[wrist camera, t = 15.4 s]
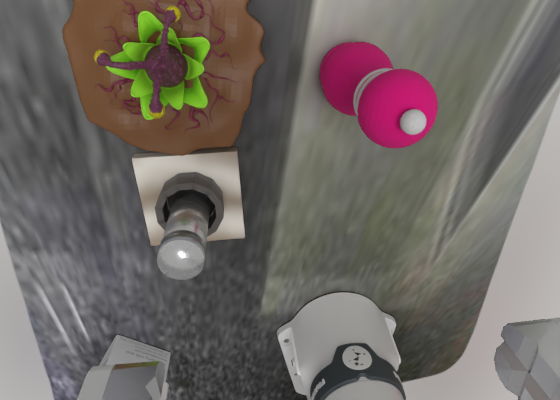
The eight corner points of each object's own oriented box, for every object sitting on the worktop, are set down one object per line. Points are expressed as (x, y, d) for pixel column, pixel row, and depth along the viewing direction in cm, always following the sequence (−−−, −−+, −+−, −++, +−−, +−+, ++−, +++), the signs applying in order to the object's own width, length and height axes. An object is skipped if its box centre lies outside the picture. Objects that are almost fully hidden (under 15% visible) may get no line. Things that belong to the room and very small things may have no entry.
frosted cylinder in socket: (209, 183, 48) (202, 239, 38) (213, 216, 50) (207, 278, 40) (169, 186, 48) (151, 243, 37) (175, 219, 50) (160, 282, 39)
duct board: (244, 231, 54) (245, 251, 50) (153, 239, 53) (146, 259, 49) (236, 146, 48) (237, 161, 44) (134, 153, 47) (125, 169, 43)
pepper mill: (375, 102, 47) (458, 170, 30) (314, 105, 47) (362, 177, 29) (381, 36, 44) (479, 69, 26) (315, 38, 43) (370, 74, 26)
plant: (80, 140, 46) (38, 181, 36) (60, -60, 37) (-2, -77, 28) (253, 155, 49) (258, 197, 39) (273, -27, 40) (285, -32, 30)
